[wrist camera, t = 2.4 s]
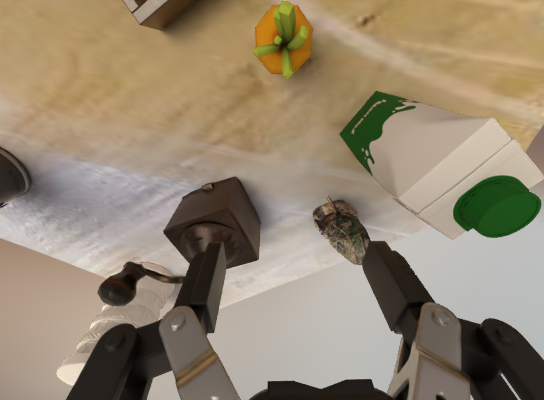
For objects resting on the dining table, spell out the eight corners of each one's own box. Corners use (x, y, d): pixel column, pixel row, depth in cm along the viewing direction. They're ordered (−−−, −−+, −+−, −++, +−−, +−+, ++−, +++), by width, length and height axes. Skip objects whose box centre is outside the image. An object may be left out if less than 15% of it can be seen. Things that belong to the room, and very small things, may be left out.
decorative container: (157, 301, 53) (114, 397, 38) (111, 279, 48) (40, 379, 33) (186, 280, 49) (151, 378, 34) (139, 253, 44) (73, 354, 29)
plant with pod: (357, 184, 37) (434, 288, 20) (356, 234, 43) (414, 347, 26) (309, 192, 38) (345, 300, 21) (315, 240, 44) (345, 354, 27)
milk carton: (371, 166, 35) (467, 264, 18) (329, 134, 32) (398, 216, 15) (418, 119, 31) (594, 189, 15) (375, 79, 28) (534, 106, 12)
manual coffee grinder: (236, 171, 35) (213, 256, 20) (262, 222, 41) (259, 318, 26) (154, 201, 38) (80, 296, 23) (189, 245, 43) (148, 344, 28)
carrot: (287, 78, 28) (305, 94, 16) (251, 60, 27) (238, 61, 14) (306, 34, 26) (344, 10, 13) (267, 12, 25) (267, -38, 12)
